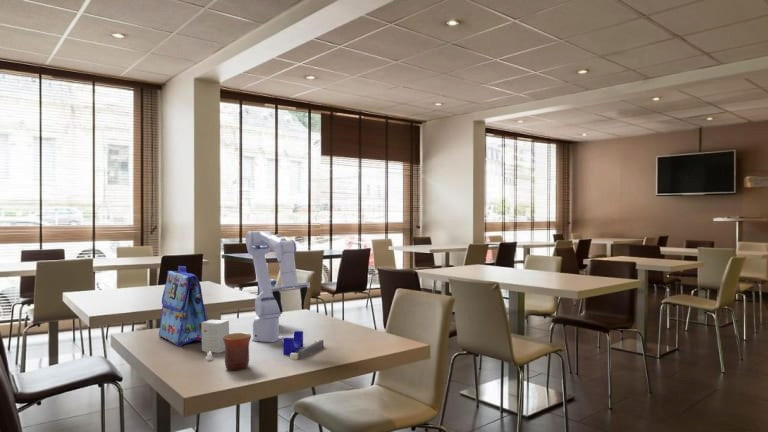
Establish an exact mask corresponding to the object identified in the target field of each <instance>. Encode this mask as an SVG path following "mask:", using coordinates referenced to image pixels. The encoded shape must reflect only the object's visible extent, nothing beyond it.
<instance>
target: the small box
mask: <svg viewBox="0 0 768 432" xmlns="http://www.w3.org/2000/svg"><path fill="white" fill-rule="evenodd" d="M201 328H202V341H201V352H207V353H209V351H211V353H218V354H221V353H223V352H225V344H224V341H223V336H225V335H228V334H230V321H229V320H226V319H225V320H224V319H207V321H205V322H202V323H201Z"/></svg>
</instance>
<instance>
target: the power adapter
mask: <svg viewBox="0 0 768 432" xmlns="http://www.w3.org/2000/svg"><path fill="white" fill-rule="evenodd" d="M204 360H205V361H206V362H209V361H213V352H211V351H209V352H206V356H205V358H204Z"/></svg>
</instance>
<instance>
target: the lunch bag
mask: <svg viewBox="0 0 768 432" xmlns="http://www.w3.org/2000/svg"><path fill="white" fill-rule="evenodd" d="M161 305H162V307H161V313H160V314H161V315H160V322H159V331H158V336H159V337H162V338H164V339H165V340H167V341H169V342H171V343H173V344H174V345H176V346H178V347H182V346H183V345H185V344H189V343H191V342H193V341H200V342H202V328H201V323H202V322H205V321H208V319H207V314H206V309H205V307H206V306H205V304H204V298H203V293H202V286H201V282H200V280H199V278H198V277H197V275H195V274H193V273H189V272H187V266H186V265H185V266H184V265H183V266H182V265H178V266H177V271H176V270H174V271H173V270H168V271H167V274H166V282H165V285H164V289H163V293H162V297H161Z"/></svg>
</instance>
